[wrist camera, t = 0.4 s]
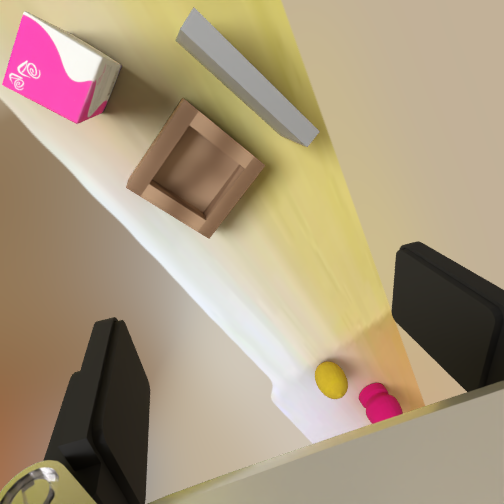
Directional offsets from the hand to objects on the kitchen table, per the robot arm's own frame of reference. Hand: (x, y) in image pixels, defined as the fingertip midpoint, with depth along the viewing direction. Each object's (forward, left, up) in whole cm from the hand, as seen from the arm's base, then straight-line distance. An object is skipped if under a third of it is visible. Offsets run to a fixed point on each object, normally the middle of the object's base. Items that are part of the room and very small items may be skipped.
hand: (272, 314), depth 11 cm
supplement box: (-13, -1, -35) cm, 37 cm away
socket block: (+2, -2, -34) cm, 34 cm away
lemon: (+44, -19, -35) cm, 59 cm away
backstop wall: (+1, +9, -34) cm, 36 cm away
